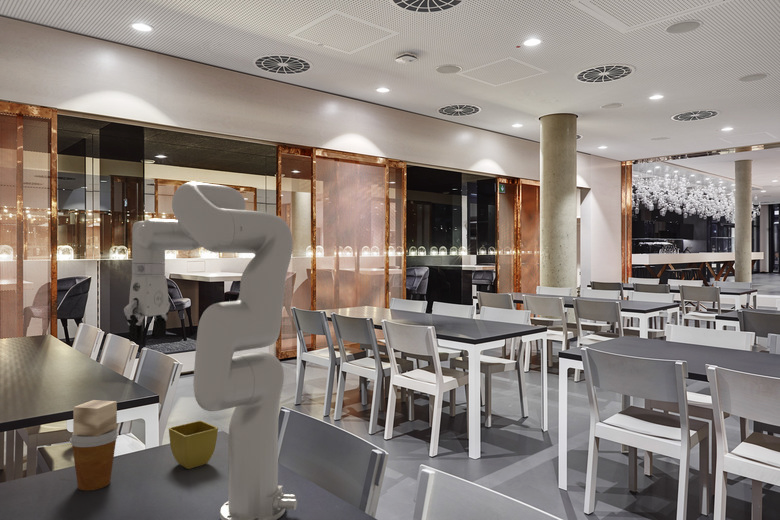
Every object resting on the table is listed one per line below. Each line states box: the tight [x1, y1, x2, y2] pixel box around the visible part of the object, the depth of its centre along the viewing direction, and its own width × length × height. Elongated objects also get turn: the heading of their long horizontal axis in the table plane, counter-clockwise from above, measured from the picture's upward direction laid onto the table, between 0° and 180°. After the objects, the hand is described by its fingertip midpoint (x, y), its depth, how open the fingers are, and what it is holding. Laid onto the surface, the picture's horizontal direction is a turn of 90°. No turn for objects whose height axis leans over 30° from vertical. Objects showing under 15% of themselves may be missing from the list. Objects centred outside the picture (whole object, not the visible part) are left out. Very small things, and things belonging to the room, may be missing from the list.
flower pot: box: [168, 420, 219, 470], centre depth 131 cm, size 9×9×9 cm
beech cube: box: [72, 399, 118, 436], centre depth 119 cm, size 6×6×6 cm
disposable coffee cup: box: [69, 428, 119, 491], centre depth 119 cm, size 10×10×12 cm
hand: (148, 338), depth 134 cm, fingers open, 9 cm apart
